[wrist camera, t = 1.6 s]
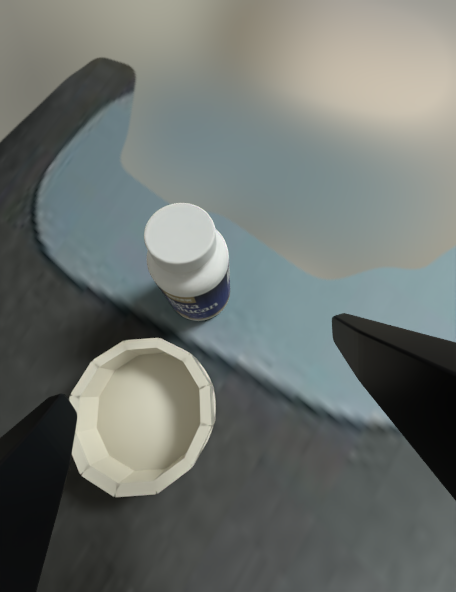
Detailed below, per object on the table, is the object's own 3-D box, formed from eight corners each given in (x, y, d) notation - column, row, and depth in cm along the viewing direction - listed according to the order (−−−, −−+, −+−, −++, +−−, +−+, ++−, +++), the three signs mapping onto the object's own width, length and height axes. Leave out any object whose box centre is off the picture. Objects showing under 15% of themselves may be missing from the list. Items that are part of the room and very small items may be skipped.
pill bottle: (174, 328, 23) (133, 285, 14) (166, 272, 25) (126, 201, 16) (236, 315, 23) (236, 264, 14) (224, 260, 25) (217, 184, 16)
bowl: (126, 511, 19) (103, 537, 15) (73, 389, 21) (43, 389, 18) (240, 426, 20) (241, 432, 17) (176, 323, 23) (166, 312, 20)
